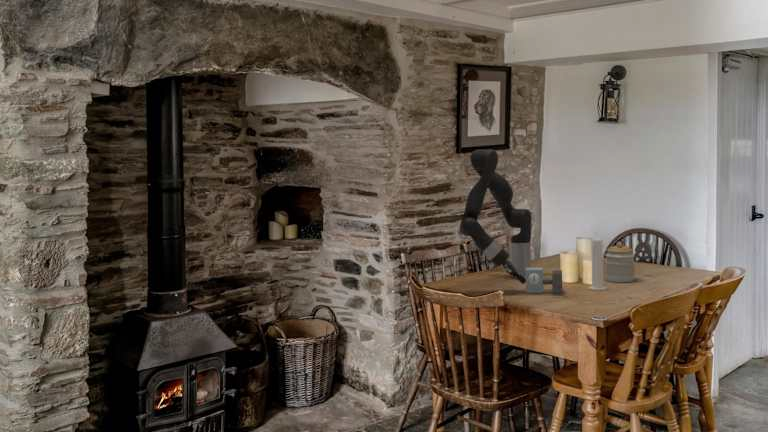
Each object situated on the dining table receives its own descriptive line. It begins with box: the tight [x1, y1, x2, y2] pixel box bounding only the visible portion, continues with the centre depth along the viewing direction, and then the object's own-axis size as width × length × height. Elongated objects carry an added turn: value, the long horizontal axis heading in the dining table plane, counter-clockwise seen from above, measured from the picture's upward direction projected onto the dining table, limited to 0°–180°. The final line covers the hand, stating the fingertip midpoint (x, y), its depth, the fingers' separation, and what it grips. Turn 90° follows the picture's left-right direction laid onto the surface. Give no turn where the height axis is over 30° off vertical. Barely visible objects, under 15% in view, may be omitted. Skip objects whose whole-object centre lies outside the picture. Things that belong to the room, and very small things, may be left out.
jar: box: [604, 241, 636, 283], centre depth 331 cm, size 13×13×18 cm
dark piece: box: [498, 269, 566, 297], centre depth 309 cm, size 12×28×10 cm, turn 76°
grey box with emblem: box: [525, 267, 552, 293], centre depth 308 cm, size 6×11×10 cm, turn 76°
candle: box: [588, 231, 607, 291], centre depth 314 cm, size 7×7×25 cm
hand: (524, 282), depth 310 cm, fingers closed
